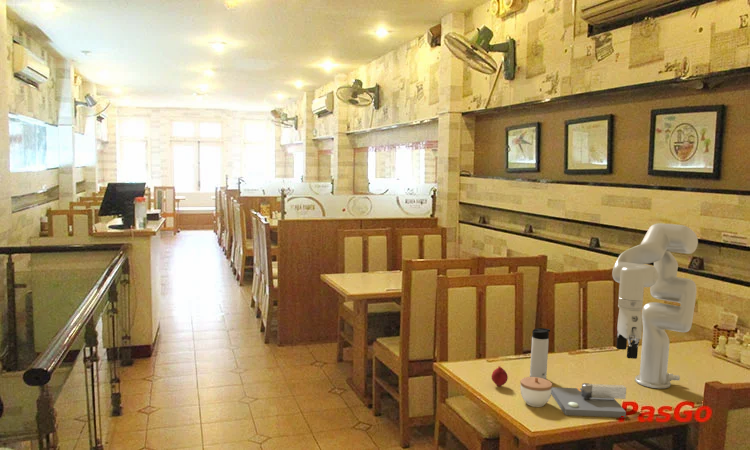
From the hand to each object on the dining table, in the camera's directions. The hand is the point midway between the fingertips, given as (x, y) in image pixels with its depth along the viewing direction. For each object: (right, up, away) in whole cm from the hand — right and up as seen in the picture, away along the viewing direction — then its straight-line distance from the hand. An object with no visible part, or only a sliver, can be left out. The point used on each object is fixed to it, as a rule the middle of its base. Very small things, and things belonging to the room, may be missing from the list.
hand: (626, 353), depth 205 cm
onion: (-38, -18, +23) cm, 48 cm away
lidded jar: (-29, -19, +8) cm, 36 cm away
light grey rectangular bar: (-5, -18, +8) cm, 20 cm away
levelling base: (-11, -20, +9) cm, 24 cm away
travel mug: (-21, -17, +33) cm, 42 cm away
